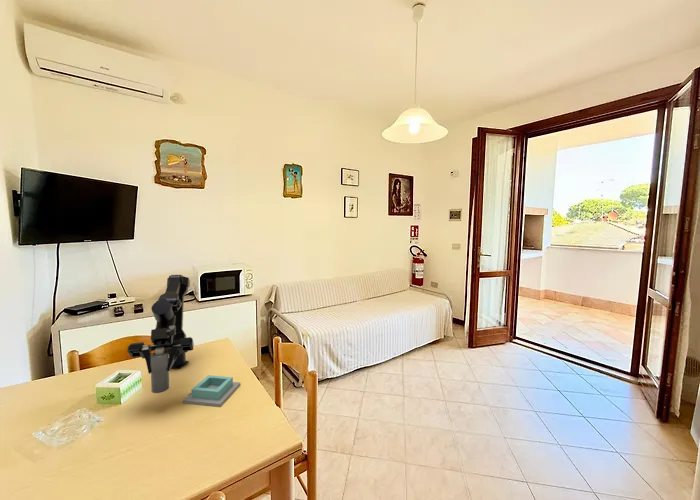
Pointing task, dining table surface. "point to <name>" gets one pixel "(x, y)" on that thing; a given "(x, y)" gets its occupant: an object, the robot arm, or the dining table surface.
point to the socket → (212, 391)
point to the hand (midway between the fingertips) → (159, 372)
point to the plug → (159, 370)
